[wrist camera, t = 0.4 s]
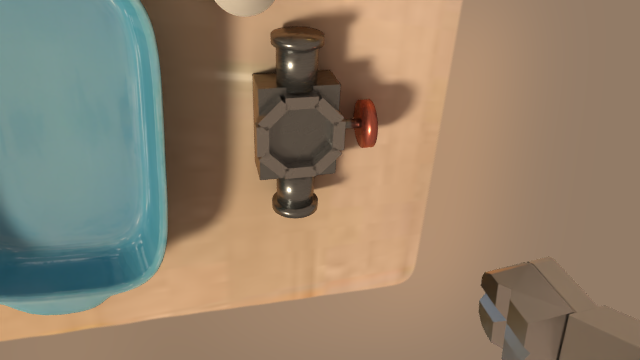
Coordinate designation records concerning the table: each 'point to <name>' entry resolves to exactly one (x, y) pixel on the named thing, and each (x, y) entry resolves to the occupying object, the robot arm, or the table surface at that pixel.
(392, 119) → the table surface
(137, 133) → the casserole dish
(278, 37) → the valve body
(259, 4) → the cream pebble-shaped knob
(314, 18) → the table surface
